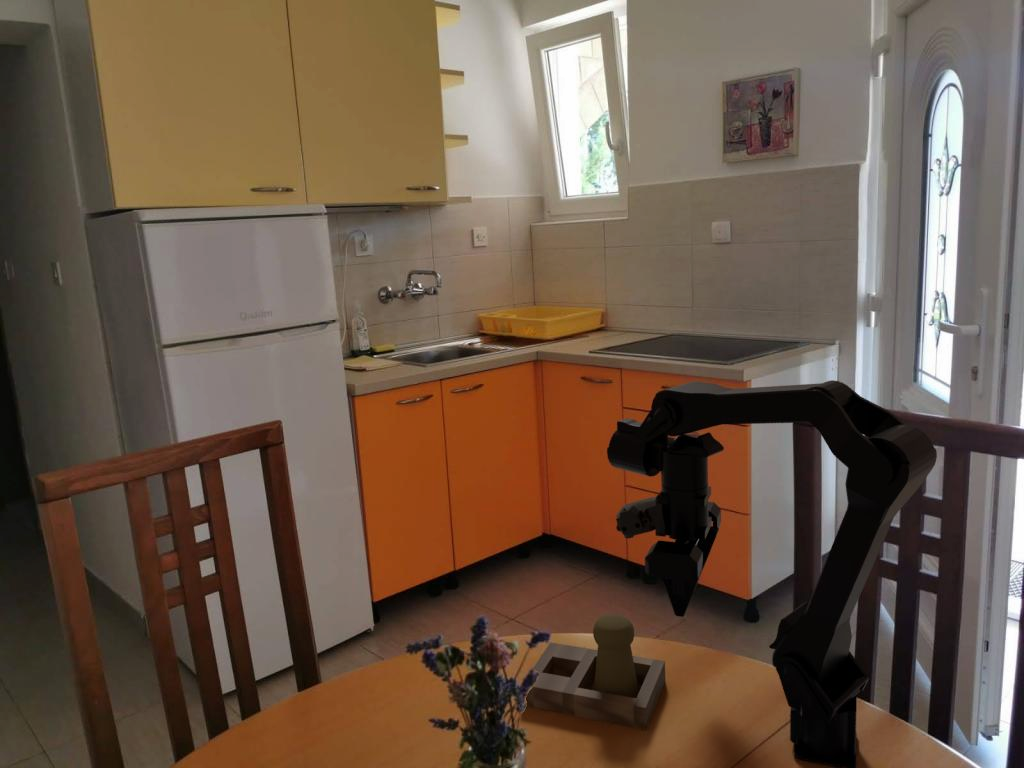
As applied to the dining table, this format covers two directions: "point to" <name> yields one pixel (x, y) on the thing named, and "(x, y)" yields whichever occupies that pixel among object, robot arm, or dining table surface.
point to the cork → (615, 656)
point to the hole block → (569, 693)
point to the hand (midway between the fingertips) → (686, 598)
